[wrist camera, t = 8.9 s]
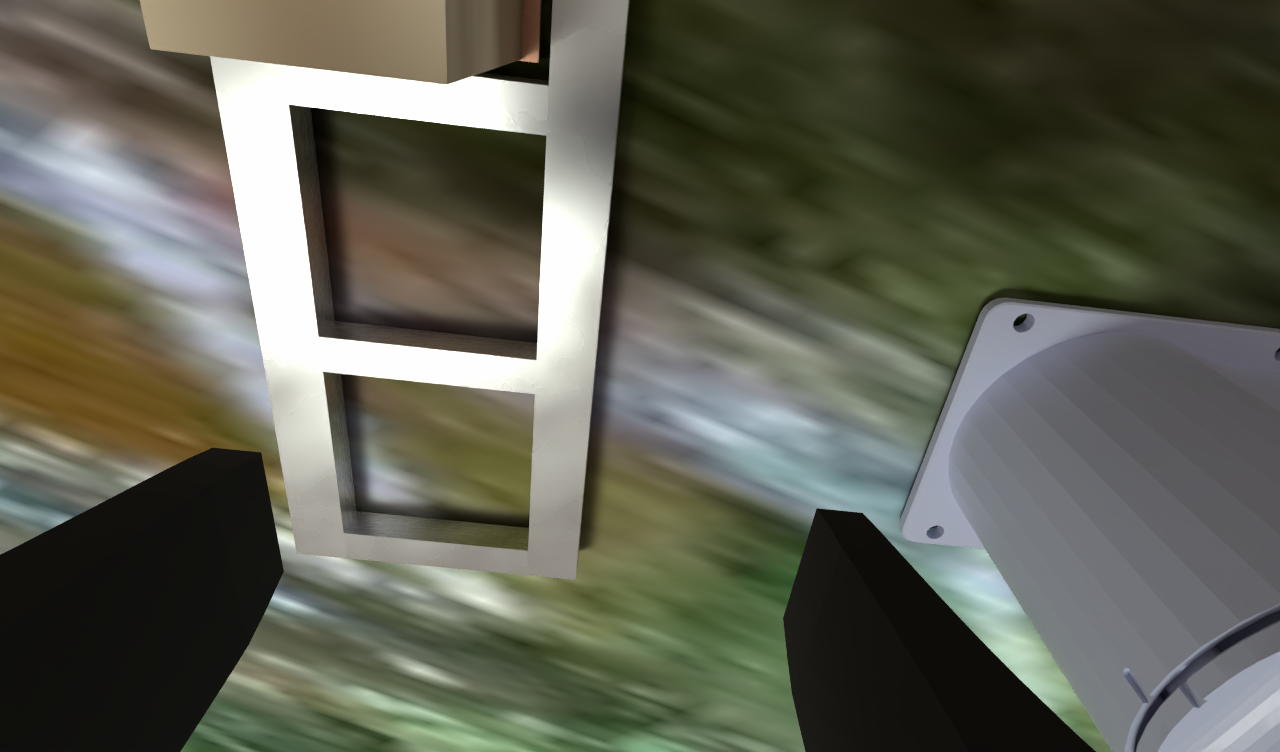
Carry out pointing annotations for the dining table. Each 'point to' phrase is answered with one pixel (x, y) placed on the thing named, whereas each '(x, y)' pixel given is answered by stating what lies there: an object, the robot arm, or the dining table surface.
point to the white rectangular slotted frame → (324, 348)
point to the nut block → (346, 34)
